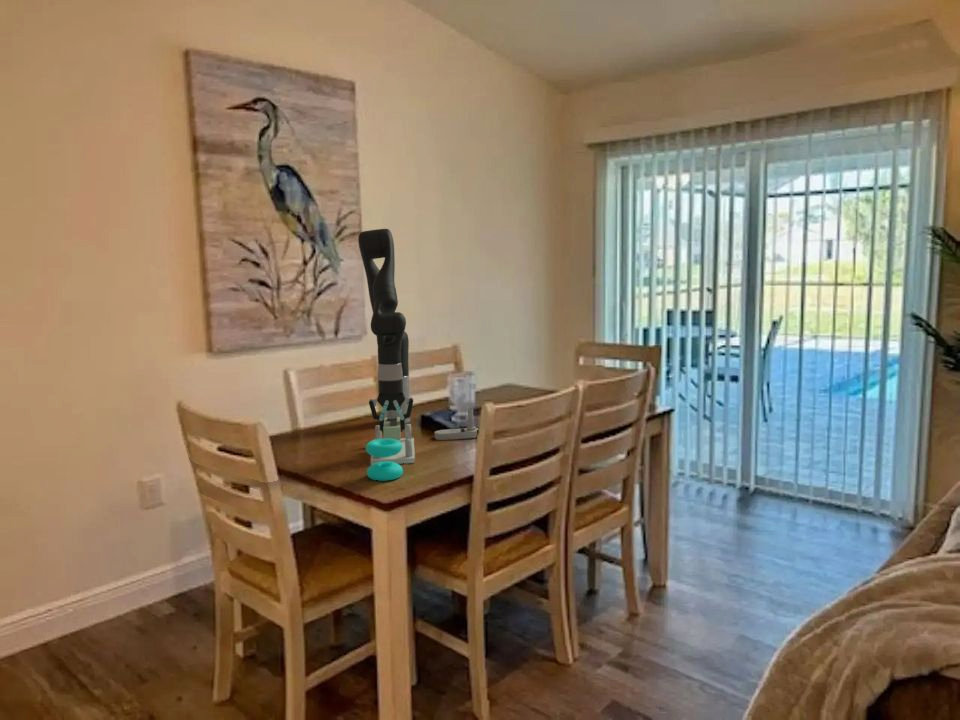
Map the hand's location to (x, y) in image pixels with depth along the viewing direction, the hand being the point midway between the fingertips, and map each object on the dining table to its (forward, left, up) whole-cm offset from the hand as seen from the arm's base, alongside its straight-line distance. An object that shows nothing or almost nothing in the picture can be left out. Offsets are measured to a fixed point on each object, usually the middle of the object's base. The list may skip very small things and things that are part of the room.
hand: (392, 431), depth 232 cm
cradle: (0, 0, -7) cm, 7 cm away
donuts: (+24, -2, -7) cm, 25 cm away
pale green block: (0, 0, -1) cm, 1 cm away
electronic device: (-16, +21, -7) cm, 27 cm away
